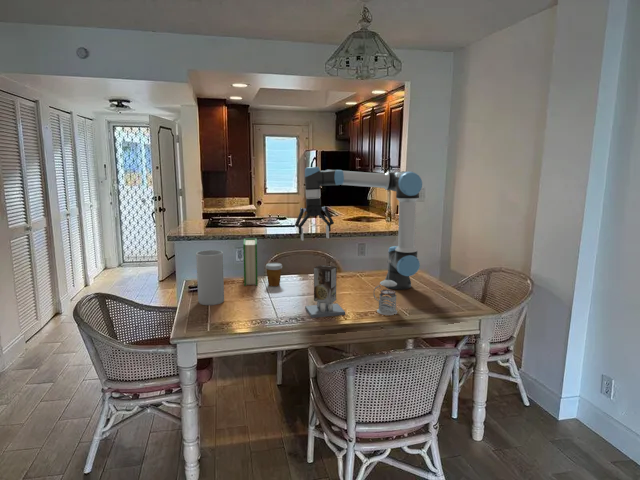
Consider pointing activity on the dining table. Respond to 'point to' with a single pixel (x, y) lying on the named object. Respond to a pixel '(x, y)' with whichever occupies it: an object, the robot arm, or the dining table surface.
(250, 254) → the hardback book
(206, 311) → the dining table surface
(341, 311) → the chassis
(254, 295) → the dining table surface
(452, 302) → the dining table surface
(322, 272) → the coffee box
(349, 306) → the dining table surface
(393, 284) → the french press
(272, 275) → the disposable coffee cup
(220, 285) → the cylinder vase
